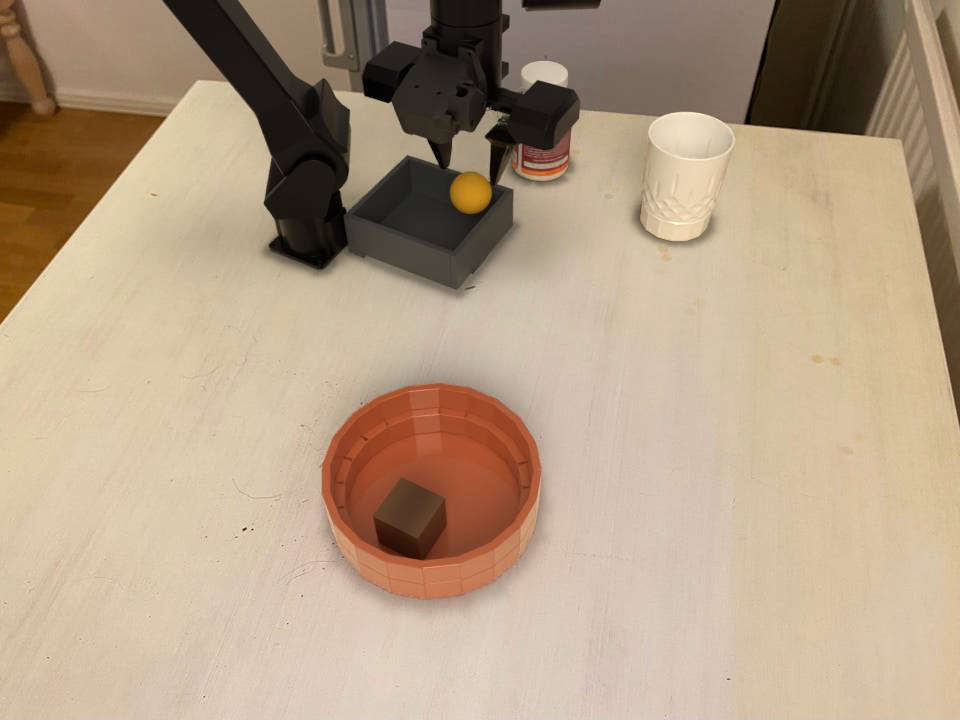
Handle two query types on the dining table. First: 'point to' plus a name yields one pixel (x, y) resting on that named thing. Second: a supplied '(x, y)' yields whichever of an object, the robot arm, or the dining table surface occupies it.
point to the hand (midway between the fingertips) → (469, 175)
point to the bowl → (435, 486)
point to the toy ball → (470, 192)
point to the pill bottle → (532, 159)
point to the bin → (426, 223)
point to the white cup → (683, 173)
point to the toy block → (410, 519)
